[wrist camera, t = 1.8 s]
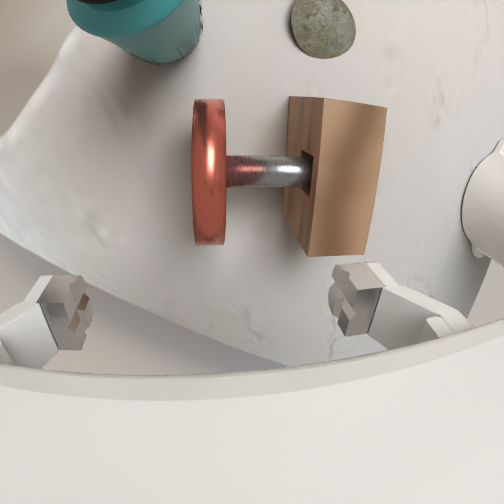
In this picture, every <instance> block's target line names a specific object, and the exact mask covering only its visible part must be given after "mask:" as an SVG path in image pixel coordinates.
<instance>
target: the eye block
mask: <svg viewBox="0 0 504 504" xmlns="http://www.w3.org/2000/svg"><path fill="white" fill-rule="evenodd" d="M386 113H387V108H384V107H379V106H374V105H368V104H362V103H356V102H350V101H343V100H335V99H328V98H315V97H294V96H289V110H288V128H287V144H286V156H287V157H310V158H313V168H312V179H311V188H309V187H284V188H283V201H282V215H283V216H284V218H285V220H286V221H287V223H288V224H289V226H290V228H291V229H292V231H293V233H294V234H295V236H296V238H297V239H298V241H299V243H300V244H301V246H302V248H303V249H304V251H305V253H306V254H307V256H308V257H315V256H340V255H363V254H364V252H365V248H366V243H367V238H368V233H369V228H370V223H371V218H372V213H373V207H374V202H375V196H376V190H377V184H378V177H379V171H380V164H381V157H382V149H383V141H384V132H385V123H386Z"/></svg>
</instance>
